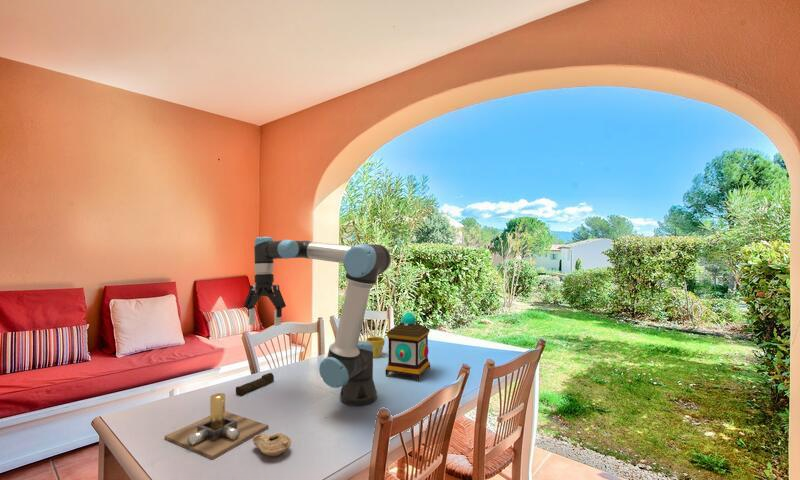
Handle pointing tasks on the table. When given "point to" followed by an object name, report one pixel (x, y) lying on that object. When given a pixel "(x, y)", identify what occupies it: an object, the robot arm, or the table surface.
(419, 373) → the decorative lantern
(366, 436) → the table surface
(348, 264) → the robot arm
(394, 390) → the table surface
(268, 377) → the hand tool
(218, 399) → the cylinder
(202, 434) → the socket housing
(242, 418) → the mounting board
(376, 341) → the plant pot
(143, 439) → the table surface
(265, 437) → the pottery oil lamp
